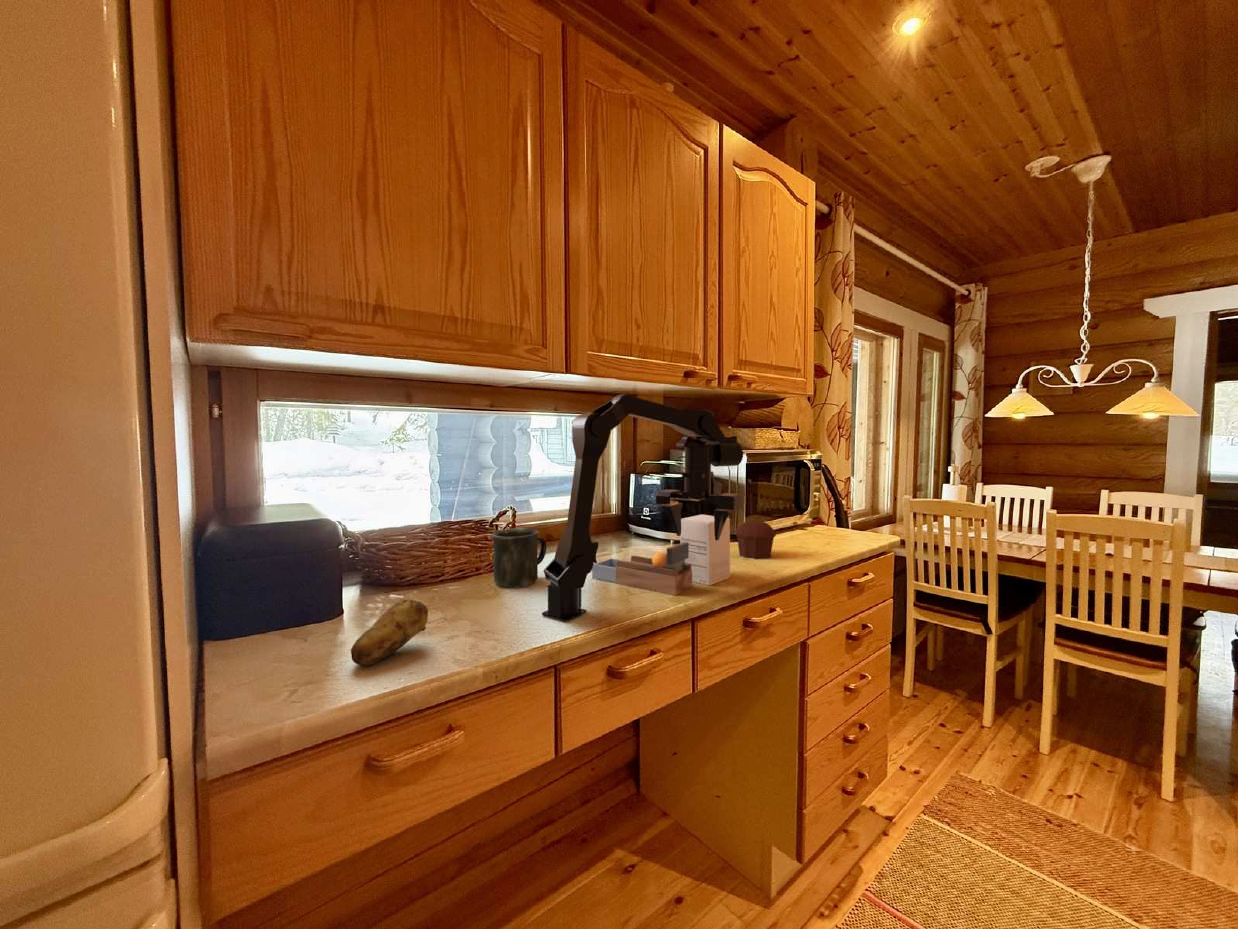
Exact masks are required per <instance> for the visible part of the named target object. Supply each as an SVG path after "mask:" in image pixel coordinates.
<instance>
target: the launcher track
mask: <svg viewBox="0 0 1238 929" xmlns="http://www.w3.org/2000/svg"><path fill="white" fill-rule="evenodd" d="M652 559H653V557H651V558H650V557H646V556H640V555H639V556H638V555H631V556H630V560H629V561H630V562H625V561H626V560H625V561H617V566H616V583H615V584H616V585H622V586H626V585H627V586H626V587H632V588H638V589H641V590H645V591H653V592H657V593H662V594H667V595H671V596H677V595H678V594H680V593H682V592H685V591H686V590H688V589H690V588H692V587H693V582H692V569H691V565H689V564H685V570H683V571H681V572H679V573H678V571H677V570H671V569H666V568H660V567H654V565H653V563H652Z"/></svg>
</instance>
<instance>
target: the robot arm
mask: <svg viewBox="0 0 1238 929" xmlns="http://www.w3.org/2000/svg"><path fill="white" fill-rule="evenodd" d="M714 414H715V413H713V412H712V411H711V410H709V409H703V408H702V409H698V408H677V407H674V406H671V405H670V406H669V405H667V404H662V403H658V402H656V401H655V402H654V401H653V400H652V401H651V400H647V399H644V398H639V397H638V396H634V395H632V394H630V393H624V394H618V395H616V396H614V397H613V398H611V399H610V400H609V401H607V402H606V403H604V404H602V405H601V406H599V407H597V408H595V409H594V410H592V411H591V412H589V413H588V412H587V413H585V412H584V413H582V414H579V415H577V416H576V417H575V418H574V419H573V421H572V425H571V437H572V438H571V439H572V440H571V441H572V446H573V450H574V455H575V460H574V461H575V462H574V469H573V475H572V476H573V477H572V484H571V490H570V491H571V493H570V500H569V504H568V505H569V506H568V513H567V514H568V515H567V521H566V527H565V530H564V532H563V534H562V535H561V537H560V539H559V541H558V543H557V547H556V550H555V554H554V558H553V559H552V560H551V561H550V562H549V563H548V565H547V566H546V567H545V568H544V569H543V574H544V576H545V578H546V580H547V581H549V585H547V610H545V611H542V612H541V616H543V617H546V618H550V619H555V620H558V621H562V622H564V623H565V622H570V621H572V620H573V619H576V618H578V617H580V616H583V615H585V614H587V613H588V610H587V609H584V608H582V588H584V587H585V583H586V580H587V577H588V574H589V573H592V568H593V565H594V564H595V563H598V561H597V552H598V549H599V542H598V541H596V540H594V539H592V536H591V533H590V530H591V524H592V523H591V522H592V517H593V516H592V514H593V507H594V500H595V493H596V492H595V491H596V485H597V477H598V469H599V463H600V459H601V457H602V456H603V453H604V452H605V450H606V448H607V445H608V444H609V439H610V436H611V433H612V430H614V429H615V428H616V427H617V426H619V425H620V424H621V423H622V422H623V421H624V420H625V419H626V418H627V417H628V416H629V417H632V418H636V419H641V420H646V421H649V422H654V423H657V424H661V425H664V426H668V427H670V428H672V429H674V430H675V431H676V432H678V433H680V434H683V435H684V436H682V438H681V439H680V440H679V441H678V442H676V444H675V447H677V448H684V472H682V473H681V477H682V478H684V490H682V491H681V490H680V489H662V490H659V491H657V492H656V494H655V496H654V502H655V503H654V504H656V505H660V506H659V507H660V509H663V510H664V512H665V513H666V515H667V517H668V519H669V521H670V523H671V526H672V527H673V529H674V531H675V534H676V536H677V537H680V535H681V519H682V514H681V513H682V508H683V504H684V503H692V504H700V505H701V504H703V505H714V506H715V507H716V508H717V509H715V510H713V516H714V534H715V540H716V541H717V540H719V538H720V535H721V533H722V530H723V527H724V524H725V522H726V520H727V518H729V516H730V514H732V513H733V512H736V511H737V509H740V508H743V505H744V504H743V503H744V500H743V496H742V495H741V493H730V492H723V493H721V492H722V486H723V484H722V483H721V481H719V480H717V479H715V474H714V471H712V467H734V466H735V467H736V466H738V465H740V464H741V463H742V461H743V458H744V450H743V448H742V446H741V444H740V443H739V441H738V436H737V435H727V436H725V435H724V433H723V431H722V429H721V428H720V426H719V424H718V423H717V420H716V417H715V415H714ZM691 437H693V439H692V438H691ZM706 442H707V443H706ZM692 497H693V498H692Z"/></svg>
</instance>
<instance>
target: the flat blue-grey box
mask: <svg viewBox="0 0 1238 929" xmlns="http://www.w3.org/2000/svg"><path fill="white" fill-rule="evenodd" d="M617 561H625V562H630V561H631V560H626V559H625V560H624V559H618V558H613V557H609V558H607V559H604V560H601V561H597V563H594V565H593V568H592V571H591V573H592V577H591V578H592V579H593V578H596V579H595V580H597V579H600V580H599V581H602V580H603V582H609V583H612V582H614V583H613V584H616V566H617Z"/></svg>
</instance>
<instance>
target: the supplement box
mask: <svg viewBox="0 0 1238 929" xmlns="http://www.w3.org/2000/svg"><path fill="white" fill-rule="evenodd" d="M679 538H680V539H679V540H680V541H679V542H680V543H683V542H688V543H689V555H688V558H687V559H685V564H689V565H691V569H692V583H696V582H697V583H698V584H701V585H704V586H712V585H715V584H717V583H719V582H723V581H726V580H728V579H730V578H731V574H730V573H731V554H730V553H731V519H730V518H729V517H728V518H727V520H726V522H725V524H724V527H723V530H722V533H721V535H720V538H719V540H717V541H716V540H715V534H714V515H708V514H698V515H697V514H696V515H693V516H689V517H684V518H681V535H680V536H679ZM680 543H679V544H680Z"/></svg>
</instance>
